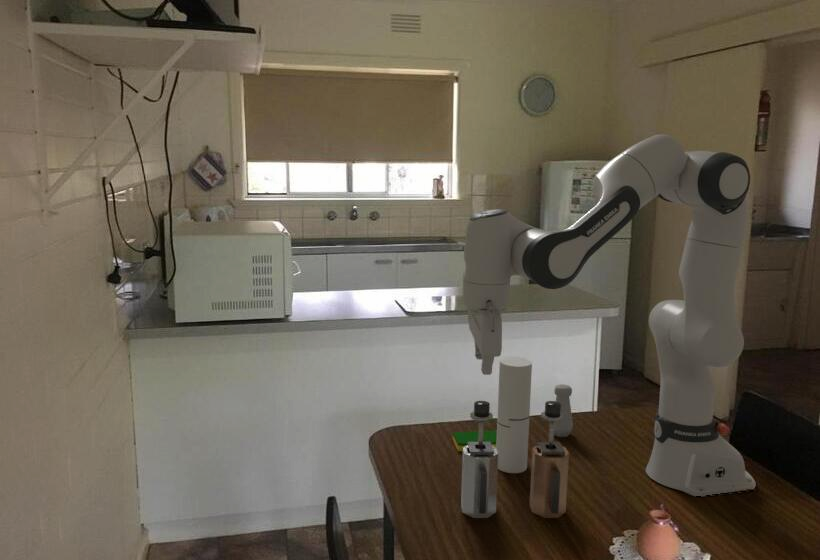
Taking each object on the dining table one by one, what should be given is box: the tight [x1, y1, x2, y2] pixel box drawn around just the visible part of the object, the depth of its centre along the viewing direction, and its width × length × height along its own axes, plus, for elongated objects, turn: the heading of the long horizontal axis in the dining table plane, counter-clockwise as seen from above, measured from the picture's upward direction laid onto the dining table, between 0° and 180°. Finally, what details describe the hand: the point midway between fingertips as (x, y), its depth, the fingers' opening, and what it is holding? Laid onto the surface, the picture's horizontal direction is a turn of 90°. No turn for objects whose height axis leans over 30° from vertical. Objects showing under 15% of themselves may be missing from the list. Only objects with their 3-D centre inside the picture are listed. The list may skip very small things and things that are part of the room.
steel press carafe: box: [460, 442, 499, 519], centre depth 131 cm, size 7×9×13 cm
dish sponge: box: [452, 429, 497, 452], centre depth 164 cm, size 7×14×2 cm, turn 97°
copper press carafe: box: [529, 441, 570, 519], centre depth 132 cm, size 7×9×13 cm
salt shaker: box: [554, 384, 574, 438], centre depth 170 cm, size 6×6×13 cm
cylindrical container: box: [496, 356, 533, 474], centre depth 150 cm, size 7×7×25 cm
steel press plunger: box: [469, 400, 494, 449], centre depth 131 cm, size 4×4×12 cm
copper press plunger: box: [540, 400, 564, 449], centre depth 131 cm, size 4×4×12 cm
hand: (483, 365), depth 128 cm, fingers open, 8 cm apart
